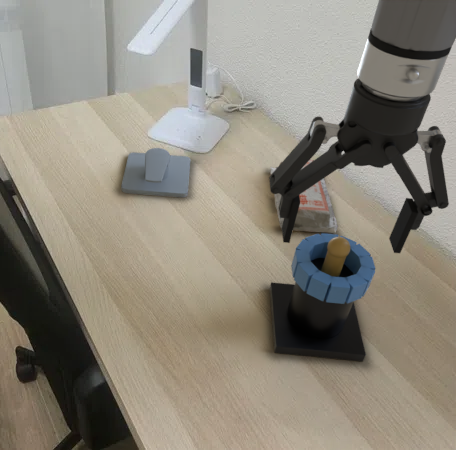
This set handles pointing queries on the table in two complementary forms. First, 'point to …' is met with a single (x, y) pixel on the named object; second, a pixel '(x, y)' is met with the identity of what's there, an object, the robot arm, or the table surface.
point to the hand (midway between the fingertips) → (339, 240)
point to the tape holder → (317, 315)
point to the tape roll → (325, 284)
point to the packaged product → (312, 209)
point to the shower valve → (156, 174)
